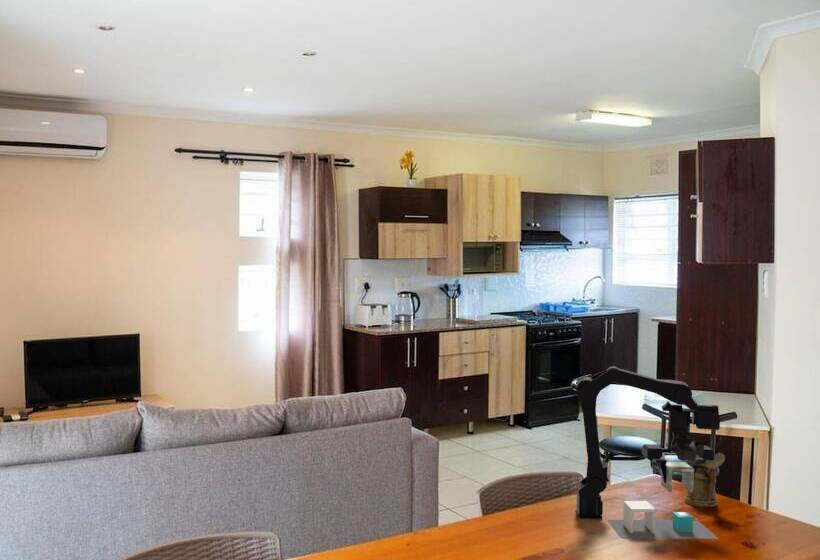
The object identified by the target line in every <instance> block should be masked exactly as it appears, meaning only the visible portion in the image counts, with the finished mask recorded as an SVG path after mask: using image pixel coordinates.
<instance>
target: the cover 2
mask: <svg viewBox="0 0 820 560" xmlns="http://www.w3.org/2000/svg"><path fill="white" fill-rule="evenodd" d="M673 472H680V473H681V472H682V473H681V486H683V487H684V488H685V490H687V491H690V492H693V482H694V469H693V468H692V467H691V466H689V465H688V462H685V461H667V463H666V483H664V482H663V480H662V477H661V476H660V477H661V478H660V486H662V487H663V488H664V489H665V490H666V491H668V493H672V491H673V489H672V488H673Z"/></svg>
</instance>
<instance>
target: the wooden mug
mask: <svg viewBox="0 0 820 560" xmlns="http://www.w3.org/2000/svg"><path fill="white" fill-rule="evenodd" d="M725 460H726V455H725V453H723V452H720V451H719V452H715V460H705V461H706V463H704V464H703V463H702V464H701V465H700V466H699V467H698V469H697V470H696V473H695V475H694V482H693V492H690V491H688V490H687V491H686V495H685V497H684V499H685V500H684V502H685V503H686V504H688V505H690V506H697V507H703V508H710V507H711V508H712V507H716V506H718V499H717V495H716V483H717V473H716V470H717V469H718V468H719V467H721V466H722V464H723V463H724V462H725Z"/></svg>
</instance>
